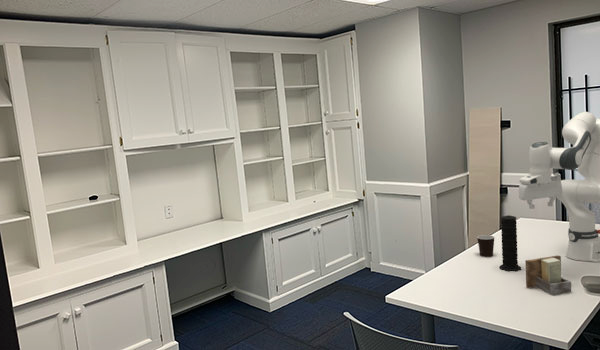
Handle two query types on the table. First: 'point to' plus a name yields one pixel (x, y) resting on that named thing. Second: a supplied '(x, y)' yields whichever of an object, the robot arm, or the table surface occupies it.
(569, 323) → the table surface
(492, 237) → the coffee mug
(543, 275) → the skincare box
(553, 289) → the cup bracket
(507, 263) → the handle grip
